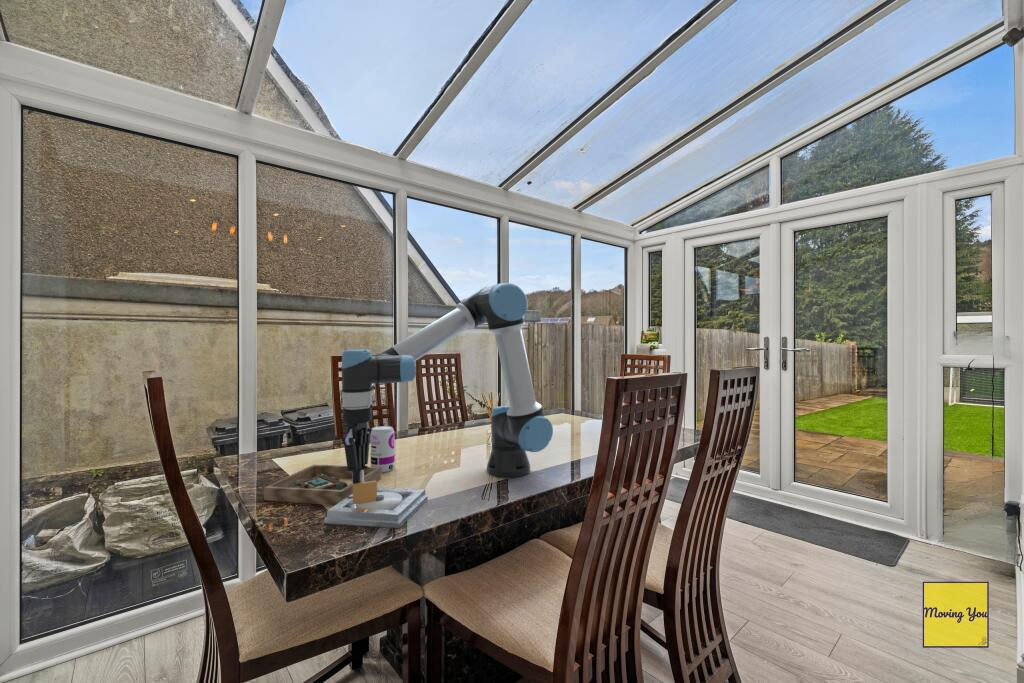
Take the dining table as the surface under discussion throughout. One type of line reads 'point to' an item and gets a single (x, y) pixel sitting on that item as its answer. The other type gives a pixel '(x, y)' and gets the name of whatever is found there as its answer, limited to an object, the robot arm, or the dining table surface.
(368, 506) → the dial
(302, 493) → the book tray
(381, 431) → the supplement can
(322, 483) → the decorative book
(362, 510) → the dial panel
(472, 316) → the robot arm
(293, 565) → the dining table surface
